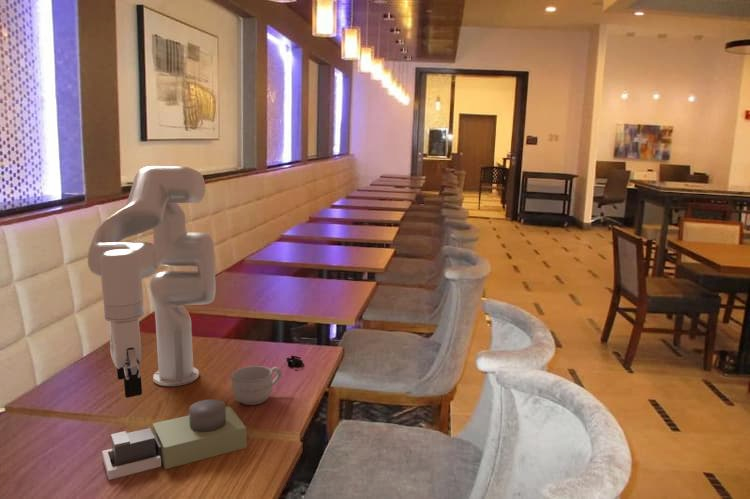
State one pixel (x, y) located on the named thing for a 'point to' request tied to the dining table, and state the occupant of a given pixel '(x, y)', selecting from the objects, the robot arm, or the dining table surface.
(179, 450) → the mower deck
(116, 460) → the grey block
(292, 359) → the wireless earbuds
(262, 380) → the teacup
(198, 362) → the dining table surface
